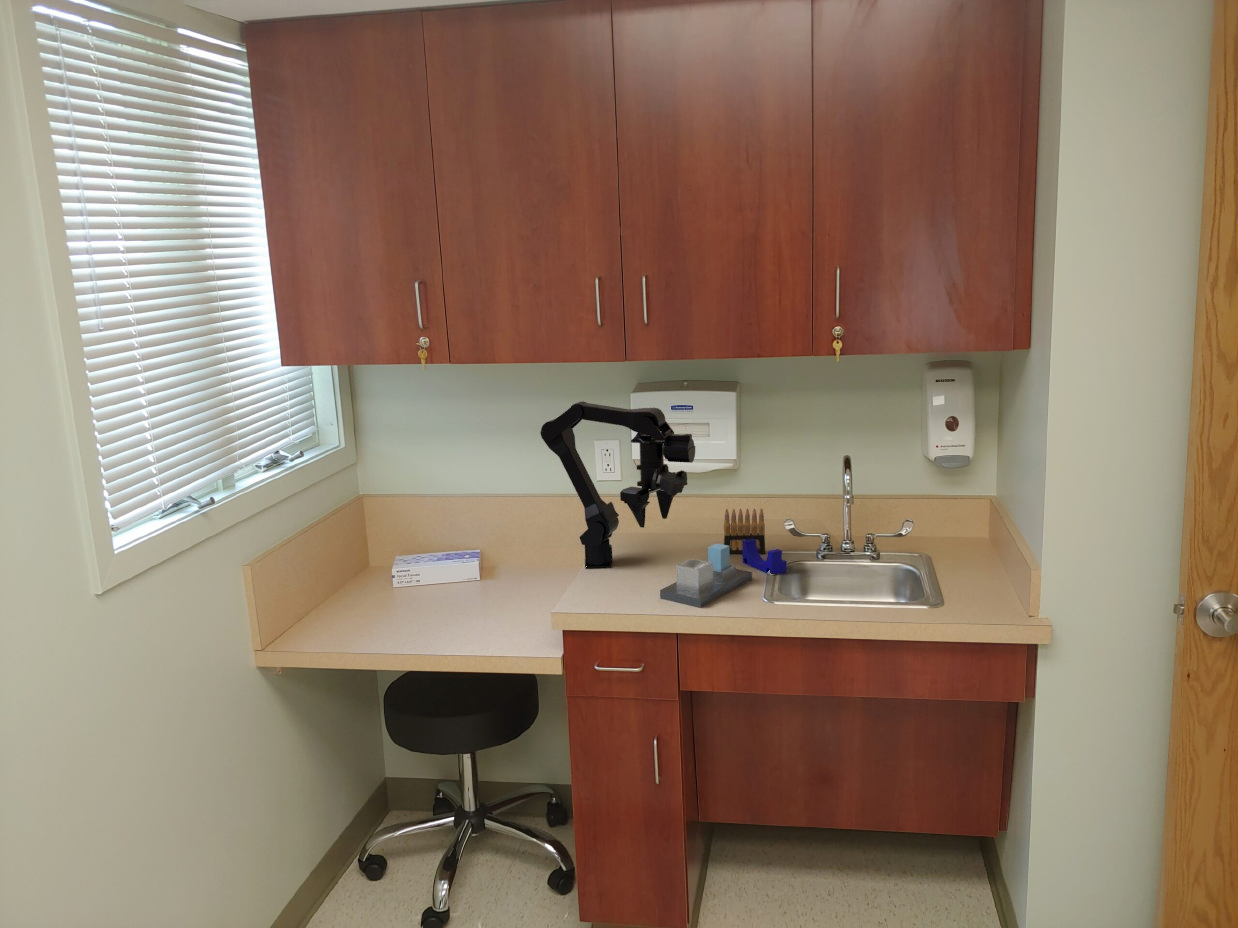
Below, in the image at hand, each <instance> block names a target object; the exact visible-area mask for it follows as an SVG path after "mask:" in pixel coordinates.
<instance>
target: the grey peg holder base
mask: <svg viewBox="0 0 1238 928" xmlns="http://www.w3.org/2000/svg"><path fill="white" fill-rule="evenodd" d="M675 571H676V572H675V573H676V577H675V578H676V581H675V582H674V583H671V584H669V585H668V586H665V587H663V588H661V589H660V590H659V597H660V598H659V599H662V600H666V601H670V602H674V603H678V604H683V605H687V606H690V607H691V606H692V607H696V608H699V609H700V608H703V607H705V606H707V605H709V604H710V603H713V602H714V601H716V600H718V599H720V598H721V597H723V596H726V595H727V594H729V593H731V592H733V591H734V590H736V589H738V588H740V587H741V586H744V585H746V584H747V583H749V582H751V581H753V571H747V570H744V569H739V568H737V565H735V564H730V567H729V568H727V569H725V570H723V571H718V570H713V563H712V562H708V560H701V559H697V558H692V557H691V558H688V559H687V560H684V561H682V562H680V563H678V564H675Z"/></svg>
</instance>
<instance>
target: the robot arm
mask: <svg viewBox="0 0 1238 928" xmlns="http://www.w3.org/2000/svg"><path fill="white" fill-rule="evenodd" d="M582 420H584V421H589V422H596V423H602V424H609V425H614V426H615V425H616V426H621V427H625V428H627V429H629V430H630V431H633V432H635V433H636V435H635V436H633V438H632V439H630V442H631V443H634V444H639V464H637V465H636V470H638V471H640V475H639V476H640V480H638V481H636V486H629V487H626V488H622V490H620V492H619V494H620V495H619V497H620V498H619V501H621V502H623V503H624V504H627V506H628V508H629V509H630V512H631V513H632V515H633V516H634V518H635V520H636V523H637V524H638V525H639V527H640V528H643V529H644V528H645V524H646V509H647V506H648V505H649V504H650V502H651V501H649V499H650V494H653V493H656V494H655V495H656V497H657V503H658V507H659V512H660V514H661V517H662V519H663V520H667V518H668V516H669V512H670V509H671V506H672V502H673V500H674V498H675V496H677V495H678V494H681V493H683V490H684V488H685V486H687V485H688V473H687V471H685V470H679V471H677V472H671V471H670V470H669V465H668V464H667V463H664V462H665V461H664V459H665V460H667V461H668V462H669V463H687V464H688V463H689V464H690V463H691V464H692V463H693V462H694V460H695V457H696V445H695V442H694V439H693V434H692V433H684V434H683V433H680V434H679V433H676V434H675V430H673V428H672V427H671V426H670V425H669V423H668V422H667V420H666V416H665V414H664V412H663V411H662V410H661V409H660V408H657V407H640V408H630V409H629V408H622V407H616V406H609V405H602V404H597V403H589V402H587V401H584V400H582V401H578V402H575V403H573V404H572V405H571V406H570V407H569V408H568V409H567V410H565V411H564V412H563V413H562V414H560V415H559V416H558V417H556V418H554V419H551V420H548V421H545V423H543V425H542V426H541V429H540V431H539V432H540V437H541V439H542V441H543V442H544V444H545V445H546V447H548V448H549V449H550V451H552V452H553V453H554V454H555V455H556V456H557V457H558V458H559V459H560V461H561V464H562V466H563V468H564V469H565V472H566V474H567V476H568V478H569V480H570V482H571V484H572V486H573V488H574V490H575V492H576V493H577V497H578V498H579V500H580V502H581V504H582V505H583V509H584V519H585V523H586V526H587V529H586V530H585V531H584V532H583V533H582V534H581V535H580V536H579V540H580V543H581V545H582V546H584V568H585V567H586V566H587V567H586V568H585V569H599V568H600V569H601V568H611V567H612V564H613V545H612V544H611V543H610V538H612V535H613V534H614V532H615V531H616V530H617V529H618V526H619V524H620V522H619V521H620V520H619V516H620V515H619V513H618V512H617V511H616V508H615V506H614V503H613V502H612V501H610V502H608V503H606V502H605V501H604V500H603V499H602V498H601V496H600V494H599V492H598V490H597V488H596V486H595V485H594V482H593V480H592V478H591V476H590V474H589V472H588V470H587V468H586V466H585V464H584V462H583V461H582V458H581V456H580V454H579V452H578V450H577V446H576V436H575V432H574V428H575V427H576V426H578V424H580V423H581V422H582Z"/></svg>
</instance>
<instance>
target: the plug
mask: <svg viewBox="0 0 1238 928" xmlns="http://www.w3.org/2000/svg"><path fill="white" fill-rule="evenodd" d="M707 562H712V563H713V570H718V571H723V570H725V569H727V568H729V567H730V555H729V546H727V545H724V544H723V543H714V544H712V545H710V546H708V547H707Z"/></svg>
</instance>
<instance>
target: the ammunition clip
mask: <svg viewBox="0 0 1238 928" xmlns="http://www.w3.org/2000/svg"><path fill="white" fill-rule="evenodd" d="M736 514H737V513H736V510H735V508H733V509H732V511H731V519H730V512H729V510H728V508H726V509H725V513H724V520H723V521H724V522H723V545H727V546H729V556H731V555H732V556H733V555H734V556H735V555H738V556H739V555H742V556H743V546H742V541H743V540H748V539H755V540H756V546H757V550H758V552H759V554H760V555H766V540H765V539H766V536H765V535H766V534H765V533H766V531H765V530H766V529H765V528H766V525H765V519H764V518H765V516H764V510H763V508H762V507H761V508H760V510H759V514H758V515H757V510H756V508H755V507H754V508H753V510H752V513H751V516H750V510H749V508H746V510H745V514H744V513H743V510H742V508H740V509H739V510H738V516H737V515H736ZM744 515H745V516H744ZM757 516H758V518H757ZM737 517H738V519H737ZM750 517H751V518H750ZM730 520H731V521H730Z"/></svg>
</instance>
